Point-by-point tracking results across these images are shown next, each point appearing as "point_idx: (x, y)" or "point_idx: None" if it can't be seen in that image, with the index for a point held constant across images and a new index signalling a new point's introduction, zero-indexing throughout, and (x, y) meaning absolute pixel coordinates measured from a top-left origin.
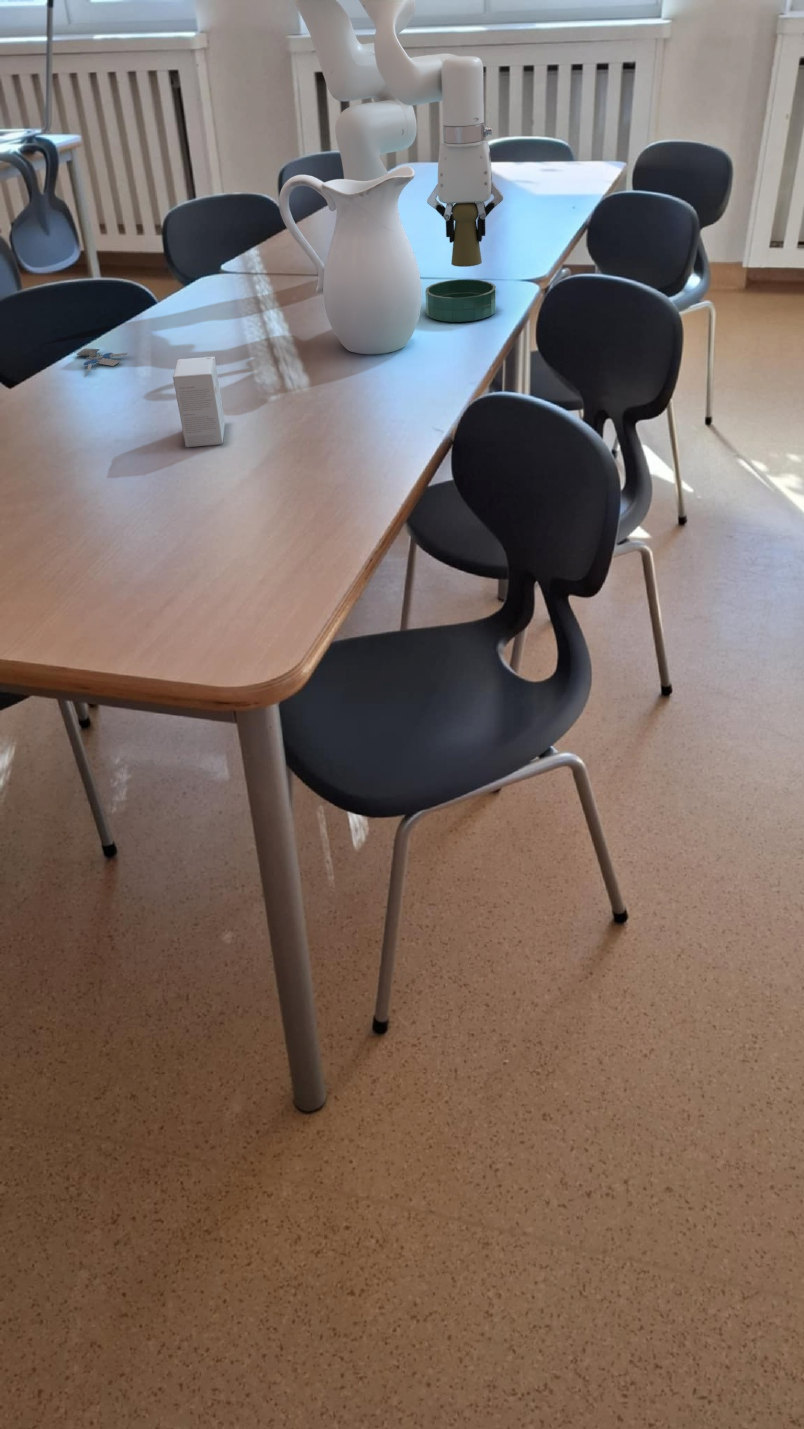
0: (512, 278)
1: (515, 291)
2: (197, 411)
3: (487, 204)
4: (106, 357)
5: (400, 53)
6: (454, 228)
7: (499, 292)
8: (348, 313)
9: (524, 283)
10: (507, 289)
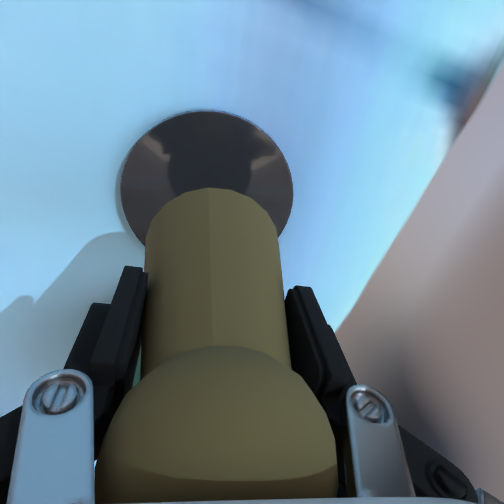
0: (418, 23)
1: (361, 208)
2: None
3: (419, 496)
4: None
5: None
6: (141, 355)
7: (313, 206)
8: None
9: (424, 119)
10: (346, 179)
